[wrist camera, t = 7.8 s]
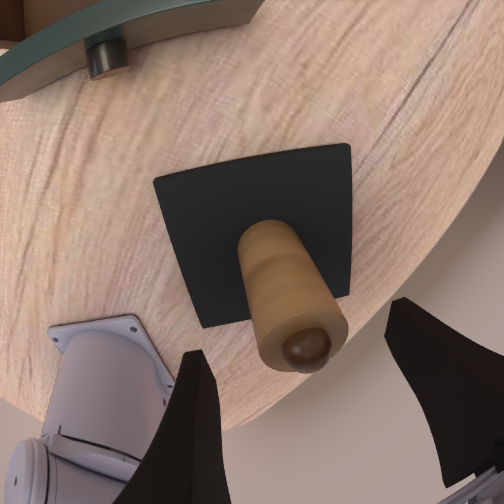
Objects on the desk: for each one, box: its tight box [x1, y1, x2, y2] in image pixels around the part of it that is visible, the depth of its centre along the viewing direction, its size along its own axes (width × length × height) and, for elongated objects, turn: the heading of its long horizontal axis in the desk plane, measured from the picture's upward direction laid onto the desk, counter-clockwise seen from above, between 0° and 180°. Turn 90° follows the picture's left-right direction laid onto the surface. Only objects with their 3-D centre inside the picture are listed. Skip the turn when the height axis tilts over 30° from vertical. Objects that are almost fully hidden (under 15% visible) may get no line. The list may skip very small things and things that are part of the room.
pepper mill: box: [237, 220, 348, 374], centre depth 13 cm, size 3×3×8 cm
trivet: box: [153, 143, 352, 328], centre depth 16 cm, size 10×10×1 cm
